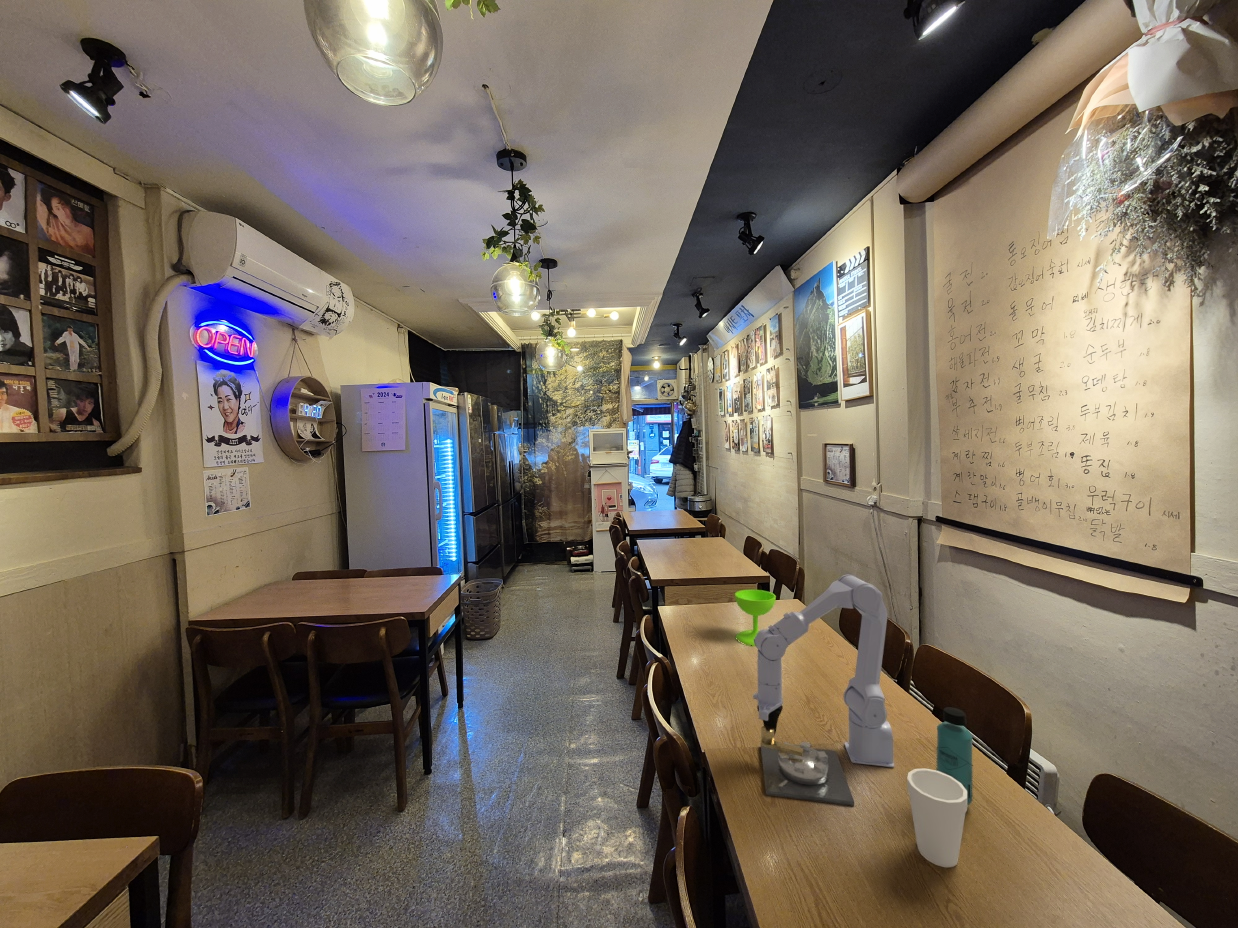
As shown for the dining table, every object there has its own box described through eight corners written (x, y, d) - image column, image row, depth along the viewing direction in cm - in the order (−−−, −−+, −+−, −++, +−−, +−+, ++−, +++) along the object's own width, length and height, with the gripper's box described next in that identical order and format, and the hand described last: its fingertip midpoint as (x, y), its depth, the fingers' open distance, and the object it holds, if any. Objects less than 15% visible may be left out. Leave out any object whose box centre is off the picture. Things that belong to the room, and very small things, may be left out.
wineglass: (727, 636, 200) (726, 592, 200) (757, 629, 207) (757, 587, 206) (753, 649, 185) (752, 603, 185) (785, 642, 192) (784, 597, 192)
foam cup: (944, 832, 95) (943, 767, 95) (981, 872, 86) (980, 800, 86) (897, 834, 95) (896, 769, 95) (929, 875, 86) (928, 803, 86)
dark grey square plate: (835, 754, 120) (835, 750, 120) (854, 805, 103) (854, 800, 103) (760, 746, 124) (760, 742, 124) (766, 794, 107) (766, 789, 107)
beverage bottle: (938, 788, 108) (937, 699, 108) (974, 801, 104) (974, 708, 103) (934, 804, 103) (933, 711, 102) (972, 819, 99) (972, 722, 98)
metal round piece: (830, 762, 116) (830, 731, 116) (825, 790, 106) (825, 757, 106) (766, 745, 123) (766, 716, 123) (756, 770, 113) (756, 739, 113)
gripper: (760, 665, 127) (760, 716, 128) (745, 689, 115) (746, 745, 115) (788, 670, 124) (788, 723, 124) (776, 696, 111) (776, 754, 111)
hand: (770, 734), depth 119 cm, fingers closed
